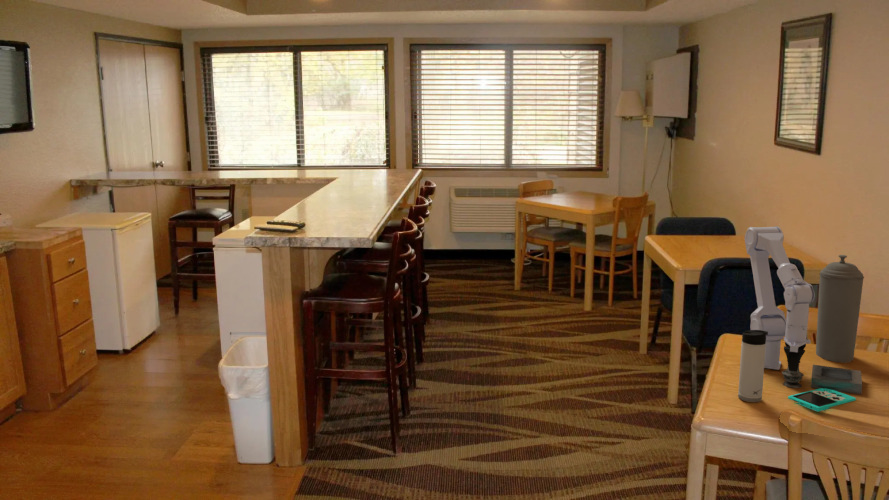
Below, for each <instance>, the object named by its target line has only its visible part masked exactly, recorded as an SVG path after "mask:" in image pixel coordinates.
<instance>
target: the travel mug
mask: <svg viewBox="0 0 889 500" xmlns="http://www.w3.org/2000/svg"><path fill="white" fill-rule="evenodd" d="M766 335H768V332H767V331H762V330H751V329H749V330H744V332H742V334H741V336H742V337H741V346H740V347H741V348H740V362H739V377H738V379H739V380H738V392H737V393H738V394H737V397H738V399H740V400H741V401H744V402H748V403H749V402H750V403H758V402H761V401H763V392H764V391H763V388H764V378H765V377H764V375H765V368H764V363H765V349H766Z"/></svg>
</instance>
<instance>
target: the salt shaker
mask: <svg viewBox="0 0 889 500" xmlns="http://www.w3.org/2000/svg"><path fill="white" fill-rule="evenodd" d="M799 364H801V361H800V362H799ZM781 373H782V377H783V379H784V380H785V381H783V383H782V385H783V386H785V387H787V388H793V389H800V388H802V387H803V386H802V384H801V383H800V382H801V381H802V379H803V377H805V374H804V373H803V372H801V371H800V365H799V366H798V369H797V372H795V371H789V369H788V367H786V370H782V371H781Z"/></svg>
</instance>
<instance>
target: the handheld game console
mask: <svg viewBox="0 0 889 500" xmlns="http://www.w3.org/2000/svg"><path fill="white" fill-rule="evenodd" d="M787 397H788V398H787V399H788V400H791V401H793V403H794V404H797V405H799V406H803V407H805V408H807V409H810V410H812V411H815V412H823V411H826V410H830V409H832V407H836V406H839V405H843V404H847V403H851V402H854V401H856V400H857V398H856V397H855V396H852V395H850V394H846V393H845V392H841V391H835V390H831V389H827V388H814V389H813V390H812V389H811V390H807V391H804V392H800V393H795V394H791V395H788V396H787Z"/></svg>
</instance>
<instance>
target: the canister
mask: <svg viewBox="0 0 889 500" xmlns="http://www.w3.org/2000/svg"><path fill="white" fill-rule="evenodd" d="M838 257H839V258H840V260H839V261H833V262H829V263H828V264H827V265H826V267H823V269H821V270H820V272H819V282H818V283H819V284H818V287H819V288H818V303H817V304H818V305H817V320H816V321H817V322H816V339H815V340H816V344H815V354H816V356H817V357H819V358H821V359H824V360H826V361H830V362H834V363H839V362H841V363H842V364H844V363H845V364H846V363H847V362H848V363H851V361H852V360H853V361H854V357H855V351H856V350H855V349H856V340H857V332H858V326H859V320H860V319H859V317H860V309H861V302H862V301H861V300H862V292H863V286H864V285H863V282H864V279H865V276H864V273H863V272H861V270H860V269H859V268H858V266H856V265H855V264H854V263H850V262H846V260H845V259H847V257H848V255H845V254H839V255H838ZM853 361H852V362H853Z"/></svg>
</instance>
